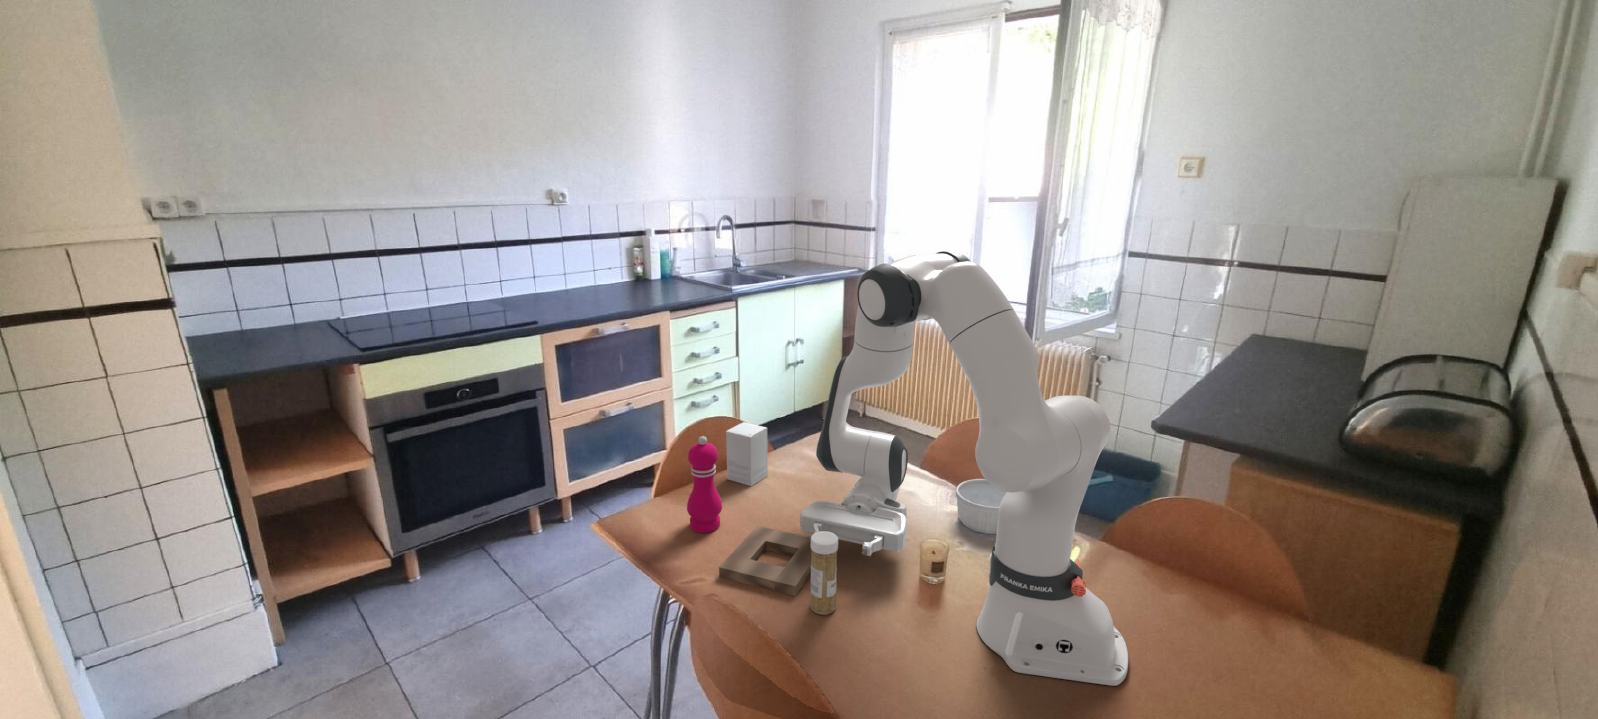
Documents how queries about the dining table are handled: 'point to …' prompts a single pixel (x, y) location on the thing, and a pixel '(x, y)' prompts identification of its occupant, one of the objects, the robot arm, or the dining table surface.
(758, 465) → the supplement box
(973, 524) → the ramekin
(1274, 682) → the dining table surface
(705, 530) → the pepper mill
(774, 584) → the wooden square frame
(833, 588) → the sprinkles bottle
